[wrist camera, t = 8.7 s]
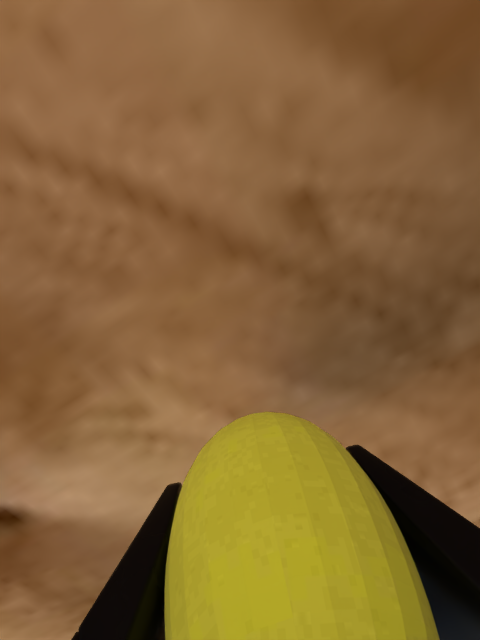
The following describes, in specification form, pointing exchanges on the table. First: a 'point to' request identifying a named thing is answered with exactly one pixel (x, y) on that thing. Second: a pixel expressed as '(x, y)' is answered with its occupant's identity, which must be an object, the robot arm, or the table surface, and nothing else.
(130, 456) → the table surface
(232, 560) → the lemon
